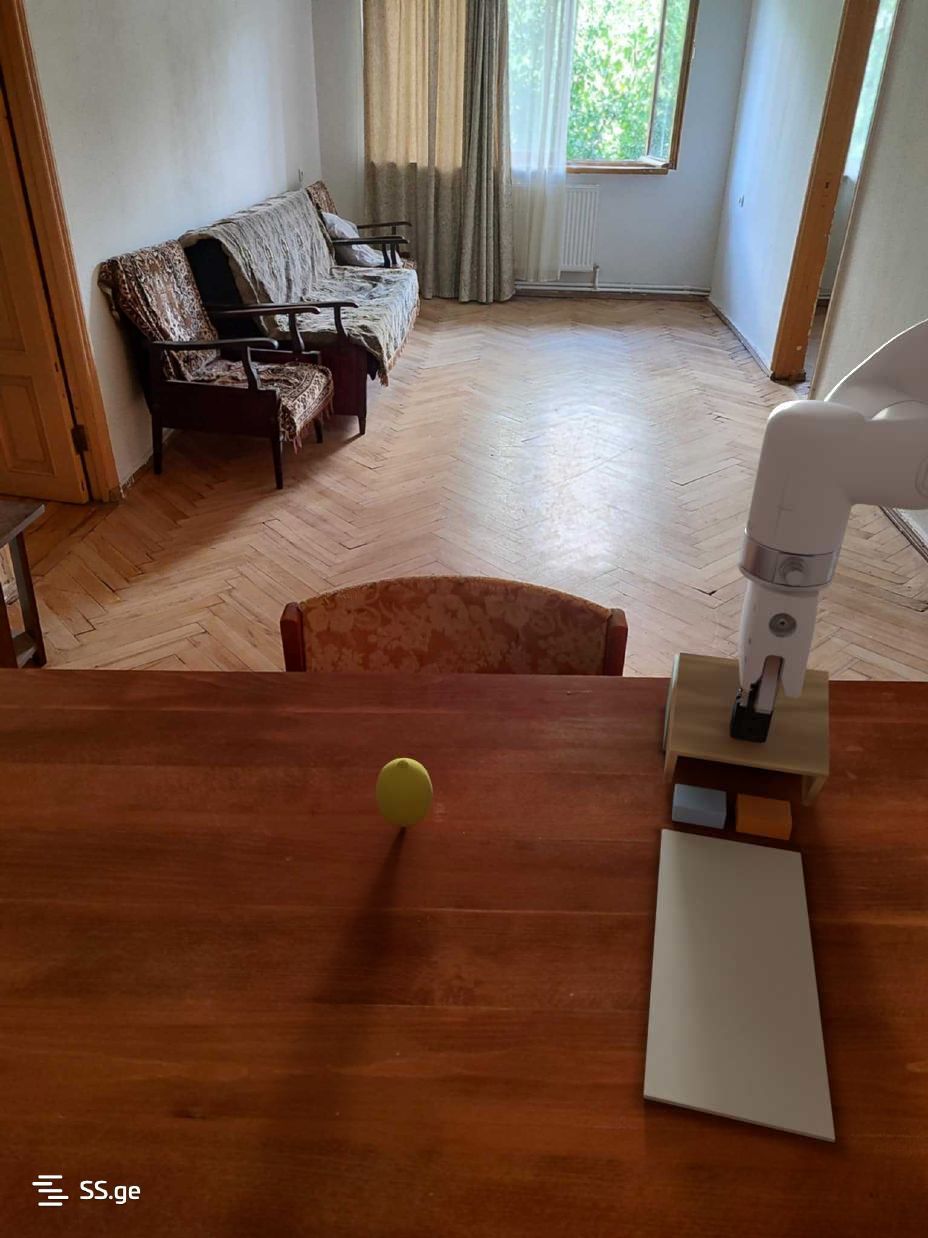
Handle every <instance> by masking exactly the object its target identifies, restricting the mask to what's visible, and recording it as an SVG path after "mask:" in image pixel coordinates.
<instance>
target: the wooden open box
mask: <svg viewBox="0 0 928 1238" xmlns="http://www.w3.org/2000/svg"><path fill="white" fill-rule="evenodd" d="M678 655H679V660H678V665H677V670H676V675H675V680H674V685H673V690H672V698H671V711H670V720H669V730H668V739H667V749H666V751H665V760H664V768H663V778H662V782H663V783H665V784H672V782H673V777H674V774H675V769H676V765H677V760H678V756H680V757H687V758H694V759H700V760H707V761H712V762H718V763H724V764H732V765H736V766H737V765H739V766H745V767H750V768H757V769H765V770H770V771H776V772H783V773H790V774H796V775H801V776H802V792H801V793H802V794H801V795H802V796H801V797H802V799H801V800H802V801H801V802H802V803H801V805H802V806H804V807H805V806H806V807H812V806H813V803H814V802H815V799H816V798H817V796H818V795H819V793H820V791H821V790H822V788H823V786H824V784H825V782H826V780H827V779H828V777H829V776H830V707H829V706H830V704H829V702H830V699H829V695H830V694H829V692H830V691H829V689H830V688H829V685H830V684H829V677H830V676H829V671H828V670H822V669H821V670H820V669H815V668H806V672H805V677H804V682H803V686H802V691H801V695H800V697H798V698H797V699H795V700H792V699H791V698H786V695H785V691H784V686H783V682H782V680H781V683H780V687H779V690H778V694H777V697H776V701H775V704H774V711H773V715H772V719H771V723H770V727H769V731H768V735H767V739H766V742H764V743H757V742H751V741H744V740H738V739H733V738H731V737H730V721H731V716H732V712H733V707H734V702H735V698H736V693H741V694H742V692H739V686H740V671H739V658H730V657H723V656H715V655H707V654H701V653H693V652H686V651H685V652H684V651H680V652H679V654H678Z"/></svg>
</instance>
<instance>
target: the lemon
mask: <svg viewBox="0 0 928 1238" xmlns="http://www.w3.org/2000/svg"><path fill="white" fill-rule="evenodd" d="M432 784H433V783H432V781H431V778H430V775H429V773H428V771H427V770H426V768H425V767H424V766H423V764H421V763H420V762H419V761H417V760H414V759H412V758H409V757H408V758H407V757H401V758H395V759H392V760H391V761H390V762H388V763H387V764H386V765H384V766H383V767H382V769H381V771H380V772H379V774H378V777H377V779H376V784H375V790H374V795H375V805H376V807H377V810H378V812H379V814H380V815H381V817H382V818H383V820H385V821H386V822H387V823H389V824H390V825H392V826H395V827H398V828H409V827H413V826H415V825H417V824H419V823H420V822H421V821H423V820H424V818H425V817H426V816H427V815H428V813H429V811H430V808H431V806H432V804H433V785H432Z"/></svg>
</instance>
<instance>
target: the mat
mask: <svg viewBox="0 0 928 1238" xmlns="http://www.w3.org/2000/svg"><path fill="white" fill-rule="evenodd" d="M660 839H661V840H660V853H659V867H658V881H657V895H656V896H657V897H656V912H655V923H654V924H655V927H654V937H653V938H654V940H653V953H652V954H653V955H652V966H651V967H652V968H651V981H650V982H651V983H650V999H649V1011H648V1024H647V1025H648V1026H647V1041H646V1055H645V1069H644V1072H645V1073H644V1082H643V1083H644V1084H643V1099H645V1100H650V1101H655V1102H659V1103H663V1104H667V1105H671V1106H676V1107H680V1108H685V1109H689V1110H693V1111H698V1112H701V1113H706V1114H711V1115H714V1116H718V1117H723V1118H726V1119H727V1118H728V1119H732V1120H735V1121H740V1122H744V1123H748V1124H753V1125H758V1126H762V1127H766V1128H771V1129H775V1130H779V1131H783V1132H788V1133H792V1134H797V1135H801V1136H805V1137H808V1138H812V1139H818V1140H822V1141H826V1142H830V1143H835V1141H836V1135H835V1128H834V1127H835V1126H834V1119H833V1109H832V1103H831V1102H832V1101H831V1095H830V1086H829V1085H830V1084H829V1078H828V1069H827V1061H826V1060H827V1059H826V1053H825V1043H824V1037H823V1028H822V1027H823V1026H822V1020H821V1019H822V1018H821V1011H820V1004H819V995H818V994H819V993H818V986H817V979H816V978H817V977H816V969H815V960H814V954H813V946H812V945H813V944H812V936H811V929H810V921H809V919H810V918H809V913H808V904H807V896H806V887H805V878H804V871H803V862H802V854H801V852H797V851H792V850H785V849H780V848H775V847H770V846H764V845H757V844H751V843H746V842H739V841H734V840H730V839H729V840H728V839H723V838H717V837H711V836H705V835H700V834H694V833H693V834H692V833H688V832H683V831H682V832H681V831H676V830H670V829H666V828H665V829H664V828H662V829H661V838H660Z"/></svg>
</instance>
